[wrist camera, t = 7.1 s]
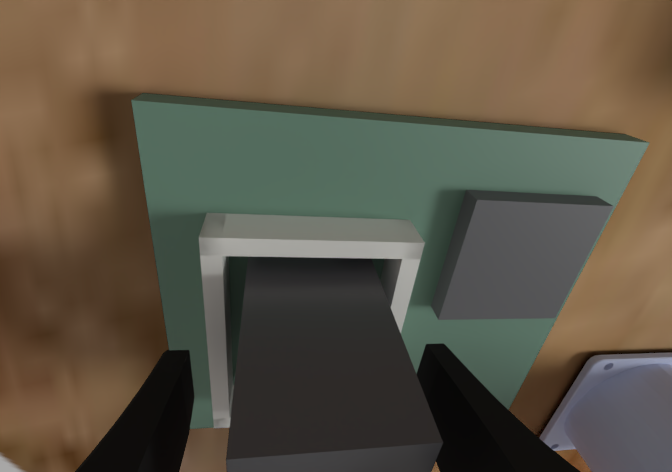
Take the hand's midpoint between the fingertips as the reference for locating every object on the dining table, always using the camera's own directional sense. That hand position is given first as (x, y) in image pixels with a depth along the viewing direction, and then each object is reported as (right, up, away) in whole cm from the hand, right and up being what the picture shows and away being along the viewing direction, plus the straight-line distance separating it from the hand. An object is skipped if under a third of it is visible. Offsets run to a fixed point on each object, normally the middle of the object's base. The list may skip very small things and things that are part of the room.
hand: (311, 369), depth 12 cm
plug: (0, +2, +2) cm, 3 cm away
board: (+2, +2, +4) cm, 5 cm away
